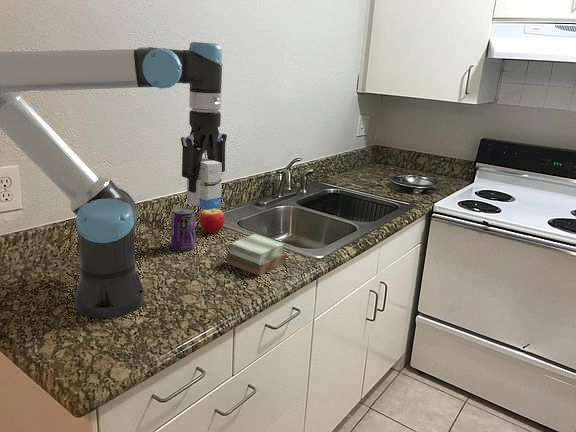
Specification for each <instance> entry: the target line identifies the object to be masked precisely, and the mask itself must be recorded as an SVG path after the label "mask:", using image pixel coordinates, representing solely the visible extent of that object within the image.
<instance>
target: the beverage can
mask: <svg viewBox="0 0 576 432" xmlns="http://www.w3.org/2000/svg"><path fill="white" fill-rule="evenodd" d="M194 211H195V210H194V208H192V207H189V206H178V207H174V208H173V209H172V213H171V215H170V240H171V241H170V243H171V244H170V245H171V246H170V247H171V248H172V249H175V250H177V251H179V252H180V251H181V252H182V251H183V252H184V251H189V250H192V249H194V248H195V246H196V214H195V212H194Z"/></svg>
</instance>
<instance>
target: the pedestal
mask: <svg viewBox="0 0 576 432" xmlns="http://www.w3.org/2000/svg"><path fill="white" fill-rule="evenodd" d="M286 261H287V253H286V252H285V243H284V242H281V241H277V240H274V239H271V238H268V237H266V236H263V235H260V234H257V233H254V234H251V235H249V236H246V237H244V238H240V239H237V240H235V241H232V242H230V243H229V252H227V253H226V264H228V265H231V266H233V267H236V268H239V269H240V270H243V271H245V272H248V273H250V274H253V275H256V276H258V277H259V276H260V277H261V276H262V275H265V274H266V273H268V272H270V271H272V270H274V269H277V268H278V267H280V266H282V265H284V263H285V264H286Z"/></svg>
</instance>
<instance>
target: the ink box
mask: <svg viewBox="0 0 576 432" xmlns="http://www.w3.org/2000/svg"><path fill="white" fill-rule="evenodd" d="M222 176H223V172H222V163H220V162H217V161H214V160H210V159H208V158H207V157H204V156H202V160H201V162H200V170H199V174H198V180H200V205H198V206H197V205H194V204H191V203H190V192H189V179H188V178H186V203H187V204H190V205H192V206H195V207H198V208H200V209H202V210H203V209H205V210H210V209H214V208H216V209H219V208H221V207H222Z"/></svg>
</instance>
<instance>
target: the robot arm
mask: <svg viewBox="0 0 576 432" xmlns="http://www.w3.org/2000/svg"><path fill="white" fill-rule="evenodd" d="M222 52H223V50H222V47H221V45H220V44H219V43H216V42H215V43H212V42H201V41H200V42H198V41H191V42H190V44H189V48H188V49H182V50H181V49H172V48H171V49H170V48H165V47H163V48H162V47H152V46H148V47H146V46H145V47H144V46H142V47H138V48H137V49H134V48H131V49H130V48H129V49H127V48H126V49H85V50H84V49H79V50H78V49H77V50H74V49H73V50H71V49H70V50H68V49H67V50H28V51H27V50H25V51H24V50H22V51H21V50H20V51H0V130H1V131H2V132H3V133H4V134H5V135H6V136H7V137H8V139H10V140H11V141H12V142H13V143H14V144H15V145H16V147H18V148H19V149H20V151H22V152H23V154H24V155H26V156H27V158H29V159H30V160H31V162H33V163H34V164H35V165H36V166H37V167H38V168H39V169H40V171H41V172H42V173H44V174H45V176H46V177H47V178H48V179H49V180H50V181H51V182H52V183H53V184H54V186H56V187H57V188H58V189H59V190H60V191H61V192H63V194H64V195H65V196H66V197H67V198H68V199H69V200H70V210H71V211H72V212H73V213H74V214H75V215H76V222H75V225H76V230H77V237H78V239H77V241H78V251H79V252H78V253H79V265H80V277H79V280H78V284H77V288H76V291H75V293H74V307H75V310H76V311H77V312H78V313H79V314H80V315H83V316H85V317H88V318H91V319H93V318H94V319H111V318H119V317H122V316H125V315H129V314H131V313H133V312H135V311H136V310H138V309H140V308H141V306H143V305H144V302H145V290H144V287H143V284H142V282H141V279H140V276H139V275H138V273H137V270H136V257H135V255H136V253H135V232H136V226H137V221H138V216H139V214H138V213H139V211H138V206H137V204H136V201H135V200H134V198H133V197H132V194H131V193H129V192H127V191H126V190H124V189H122V188H119V187H118V186H117V185H116V184H115V183H114V182H113V180H112V179H110V178H109V177H102V176H100V175H98V174H97V173H96V171H94V169H93V168H92V167H91V166H90V165H89V164H88V163H87V162H86V161H85V159H83V158H82V156H80V154H79V153H78V152H77V151H76V150H75V149H74V148H73V147H72V145H71V144H70V143H69V142H67V140H66V139H65V138H64V137H63V136H62V134H60V133H59V132H58V131H57V130H56V129H55V127H54V126H53V125H52V124H51V123H50V122H49V121H48V120H47V119H46V118H45V116H43V114H41V112H40V111H39V110H38V109H37V107H35V106H34V105H33V104H32V102H30V101H29V99H28V98H27V97H26V96H25V95H24V93H28V92H29V93H30V92H31V93H33V92H52V91H53V92H55V91H56V92H57V91H58V92H59V91H79V90H80V91H82V90H83V91H85V90H107V89H129V88H131V89H133V88H135V89H136V88H158V89H170V88H172V87H173V86H176V84H185V85H186V84H189V98H188V100H189V101H188V102H189V104H188V106H189V108H190V111H189V113H188V114H189V116H188V118H189V120H188V121H189V123H188V124H189V126H190V128H191V130H190V133H189V135H188V136H185V137H184V136H182V137H180V142H181V146H182V148H181V149H182V153H181V154H182V155H181V156H182V157H181V158H182V159H181V177H182V178H185V179H187V178H188V179H189V192H190V203H191V204H190V203H189V204H190V205H192V204H194V205H193V206H195V205H197V206H198V205H200V180H198V174H199V170H200V162H201V160H202V157H204V156H203V155H204V154H205V153H206V158H207V159H210V160H214V161H217V162H220V163H222V173H224V172H226V142H227V139H228V135H227V134H226V133H222V132H221V133H220V131H219V128H220V127H221V123H222V122H221V121H222V120H221V117H222V114H221V112H220V111H219V110H221V109H222V84H223V83H222V80H223V79H222V78H223V53H222ZM197 206H196V207H197Z"/></svg>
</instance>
